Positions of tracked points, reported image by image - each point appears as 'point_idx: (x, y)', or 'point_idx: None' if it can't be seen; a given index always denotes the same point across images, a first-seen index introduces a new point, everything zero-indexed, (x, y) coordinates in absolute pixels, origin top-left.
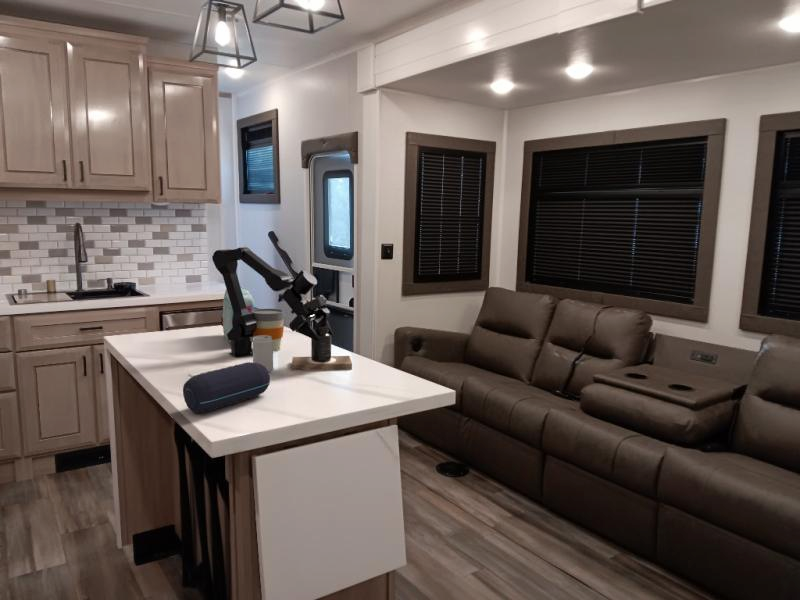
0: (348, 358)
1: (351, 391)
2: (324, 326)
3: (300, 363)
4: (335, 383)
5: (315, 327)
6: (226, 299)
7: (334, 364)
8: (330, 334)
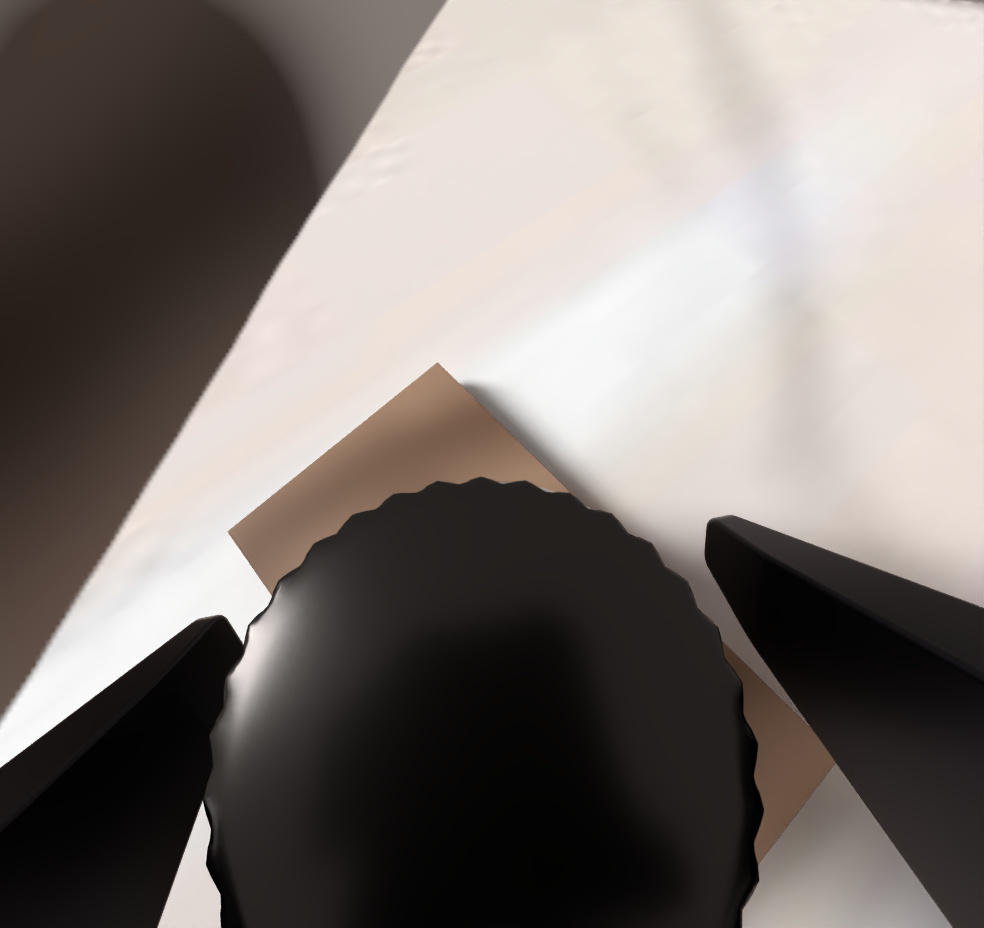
0: (315, 478)
1: (792, 144)
2: (446, 597)
3: None
4: (760, 273)
5: (742, 841)
6: None
7: (530, 455)
8: (226, 657)
